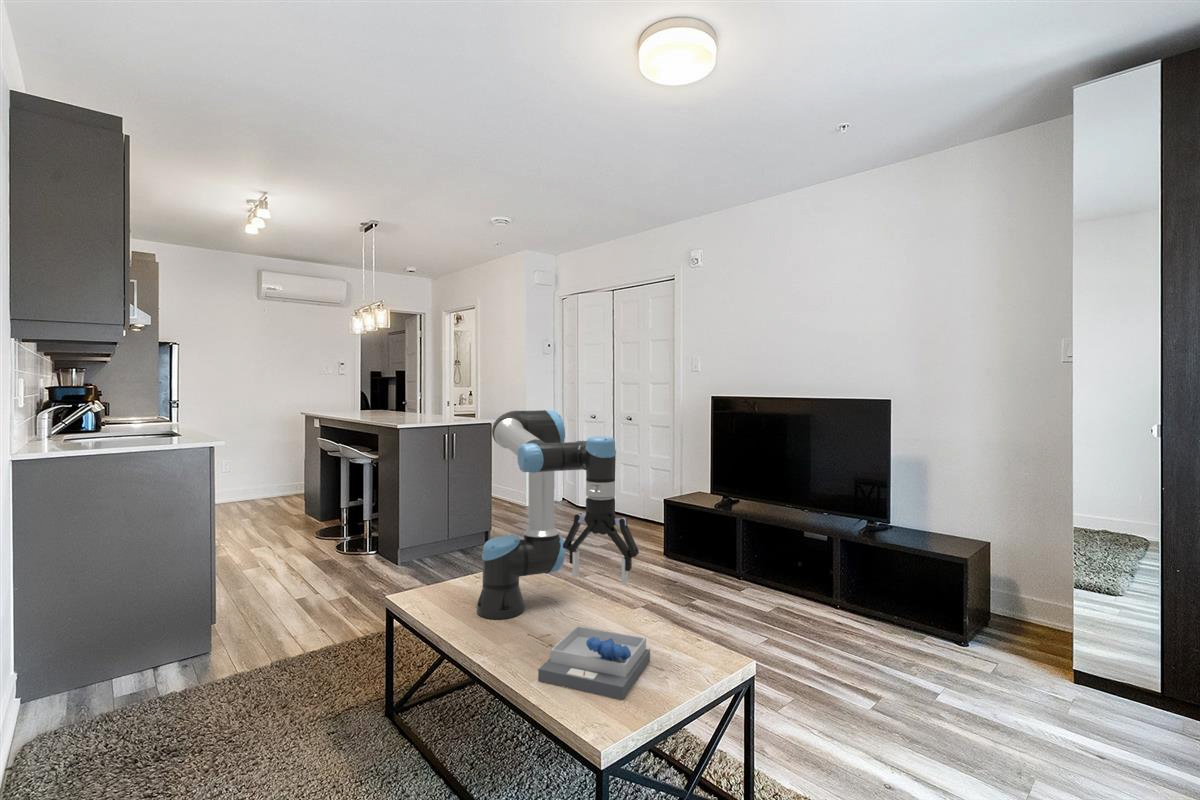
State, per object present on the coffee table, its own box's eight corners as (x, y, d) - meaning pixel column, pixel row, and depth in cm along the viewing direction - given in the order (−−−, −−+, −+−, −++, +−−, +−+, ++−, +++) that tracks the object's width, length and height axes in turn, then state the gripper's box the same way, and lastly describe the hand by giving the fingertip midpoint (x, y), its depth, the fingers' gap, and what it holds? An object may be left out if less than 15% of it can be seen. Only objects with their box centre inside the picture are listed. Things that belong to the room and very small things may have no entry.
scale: (538, 681, 141) (538, 656, 141) (574, 646, 160) (574, 624, 160) (622, 700, 132) (622, 673, 132) (650, 661, 152) (650, 638, 152)
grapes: (578, 658, 146) (584, 662, 135) (586, 630, 148) (591, 632, 137) (622, 671, 146) (631, 675, 135) (629, 643, 149) (638, 645, 138)
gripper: (550, 495, 149) (549, 577, 149) (642, 503, 139) (641, 590, 140) (563, 491, 156) (562, 569, 156) (651, 498, 146) (650, 581, 147)
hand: (599, 579), depth 148 cm, fingers open, 13 cm apart
